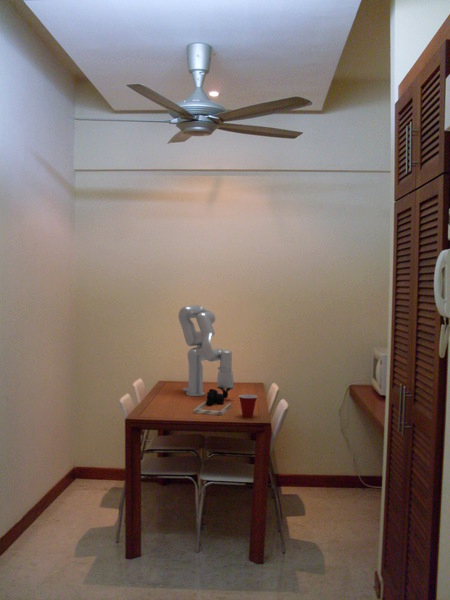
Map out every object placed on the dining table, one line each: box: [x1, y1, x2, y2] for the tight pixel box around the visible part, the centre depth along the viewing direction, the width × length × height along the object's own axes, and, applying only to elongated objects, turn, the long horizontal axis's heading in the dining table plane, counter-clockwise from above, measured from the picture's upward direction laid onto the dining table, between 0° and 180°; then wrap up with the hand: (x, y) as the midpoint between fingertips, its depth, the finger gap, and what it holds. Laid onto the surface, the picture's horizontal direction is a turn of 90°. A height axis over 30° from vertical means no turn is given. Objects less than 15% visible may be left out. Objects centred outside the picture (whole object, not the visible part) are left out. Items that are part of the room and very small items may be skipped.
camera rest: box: [192, 400, 232, 416], centre depth 324 cm, size 17×22×2 cm
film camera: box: [206, 388, 225, 407], centre depth 340 cm, size 15×10×9 cm, turn 168°
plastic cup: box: [238, 394, 258, 418], centre depth 311 cm, size 11×11×12 cm
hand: (225, 397), depth 351 cm, fingers closed
